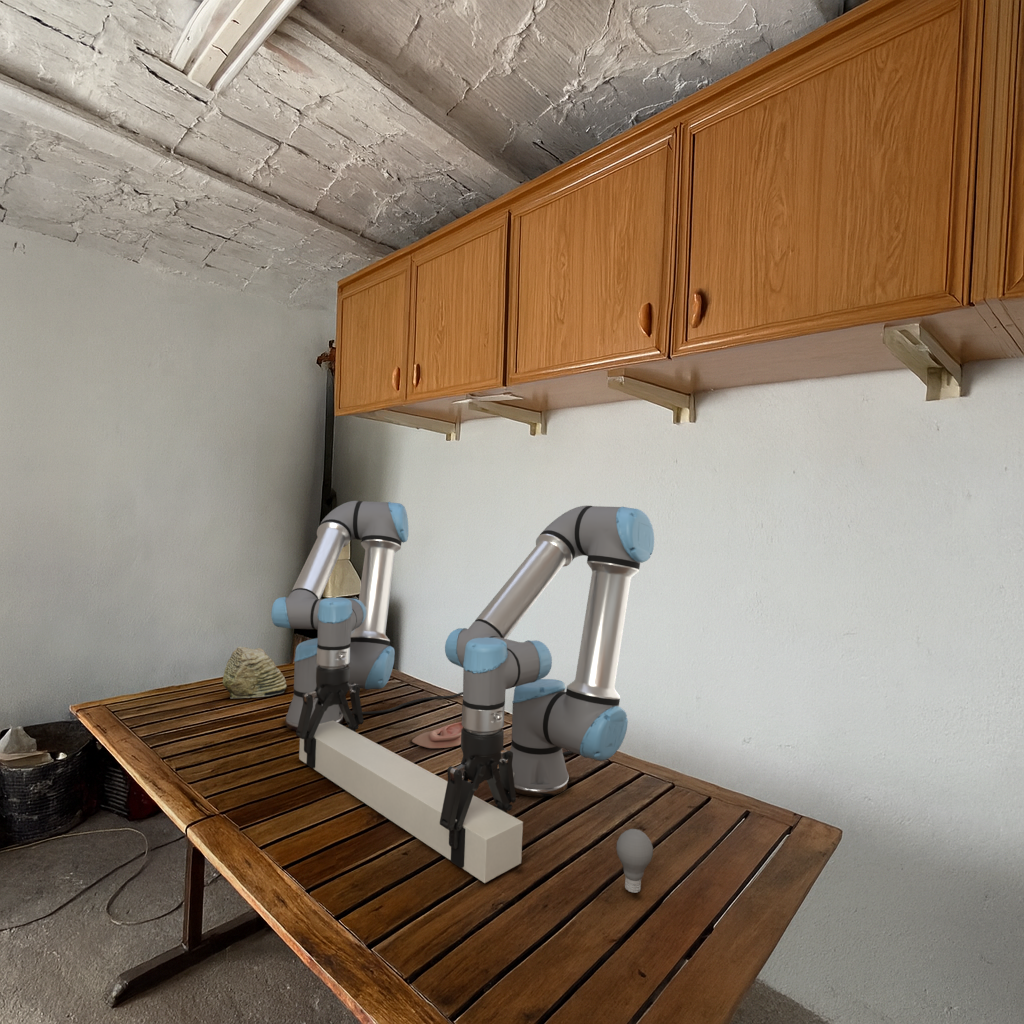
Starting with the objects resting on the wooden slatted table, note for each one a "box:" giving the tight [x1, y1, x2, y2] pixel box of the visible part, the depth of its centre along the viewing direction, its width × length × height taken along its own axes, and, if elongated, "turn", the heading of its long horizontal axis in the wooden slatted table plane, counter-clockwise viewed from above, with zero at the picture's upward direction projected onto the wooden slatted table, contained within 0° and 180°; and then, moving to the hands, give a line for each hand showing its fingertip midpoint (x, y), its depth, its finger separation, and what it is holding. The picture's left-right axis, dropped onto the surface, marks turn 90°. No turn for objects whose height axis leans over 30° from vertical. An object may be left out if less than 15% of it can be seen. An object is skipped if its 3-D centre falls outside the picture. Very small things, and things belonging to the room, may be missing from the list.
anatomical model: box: [411, 721, 463, 749], centre depth 167 cm, size 13×4×12 cm
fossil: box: [222, 646, 288, 699], centre depth 198 cm, size 9×18×15 cm, turn 132°
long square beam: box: [298, 721, 524, 884], centre depth 130 cm, size 65×9×7 cm, turn 45°
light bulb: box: [615, 828, 654, 894], centre depth 106 cm, size 6×6×10 cm
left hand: (329, 760), depth 149 cm, fingers closed on long square beam, 9 cm apart
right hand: (477, 853), depth 112 cm, fingers closed on long square beam, 9 cm apart
